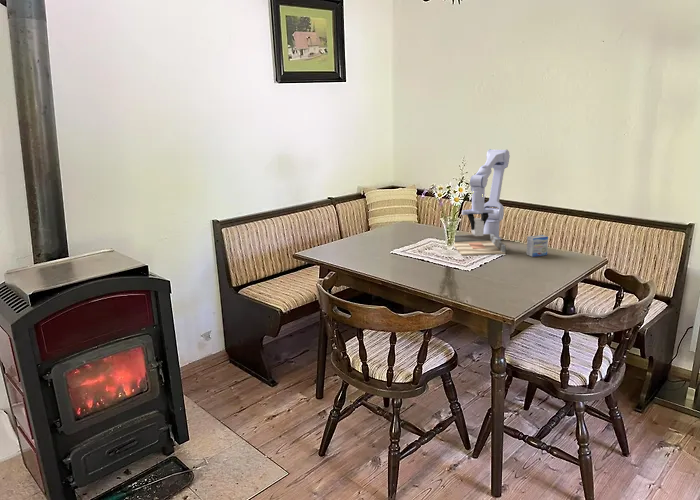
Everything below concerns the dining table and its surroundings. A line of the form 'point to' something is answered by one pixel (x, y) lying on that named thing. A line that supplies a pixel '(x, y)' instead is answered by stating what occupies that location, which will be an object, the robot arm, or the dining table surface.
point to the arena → (479, 244)
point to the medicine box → (537, 245)
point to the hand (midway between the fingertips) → (477, 229)
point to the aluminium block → (478, 227)
